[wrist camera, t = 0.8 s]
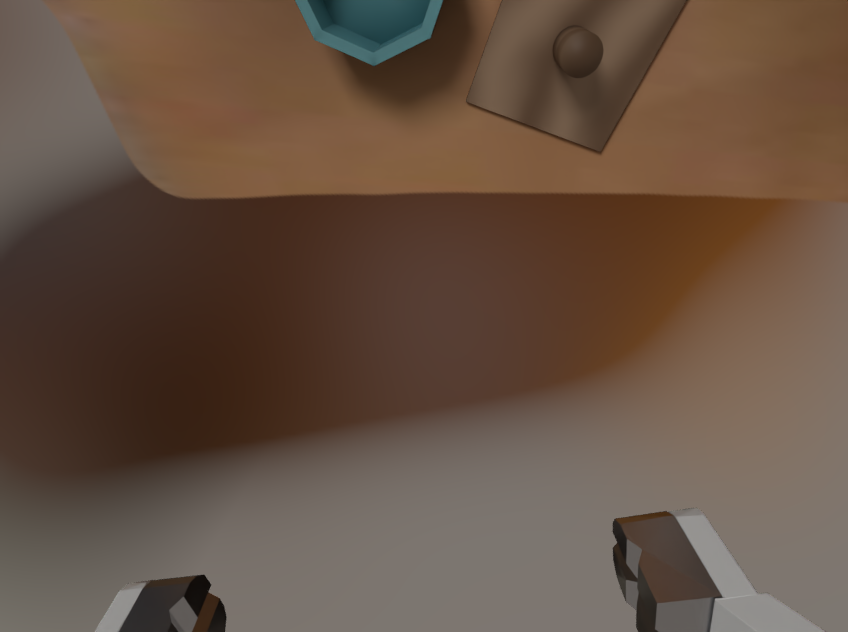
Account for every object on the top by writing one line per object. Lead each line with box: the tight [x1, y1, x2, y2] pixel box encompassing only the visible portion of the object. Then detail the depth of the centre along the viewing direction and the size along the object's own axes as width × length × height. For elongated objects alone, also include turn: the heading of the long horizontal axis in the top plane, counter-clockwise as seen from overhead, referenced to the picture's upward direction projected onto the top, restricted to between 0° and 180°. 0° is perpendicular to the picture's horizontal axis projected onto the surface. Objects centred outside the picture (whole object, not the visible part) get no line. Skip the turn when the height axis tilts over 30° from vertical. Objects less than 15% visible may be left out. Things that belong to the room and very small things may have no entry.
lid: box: [466, 0, 686, 152], centre depth 36 cm, size 13×13×5 cm
